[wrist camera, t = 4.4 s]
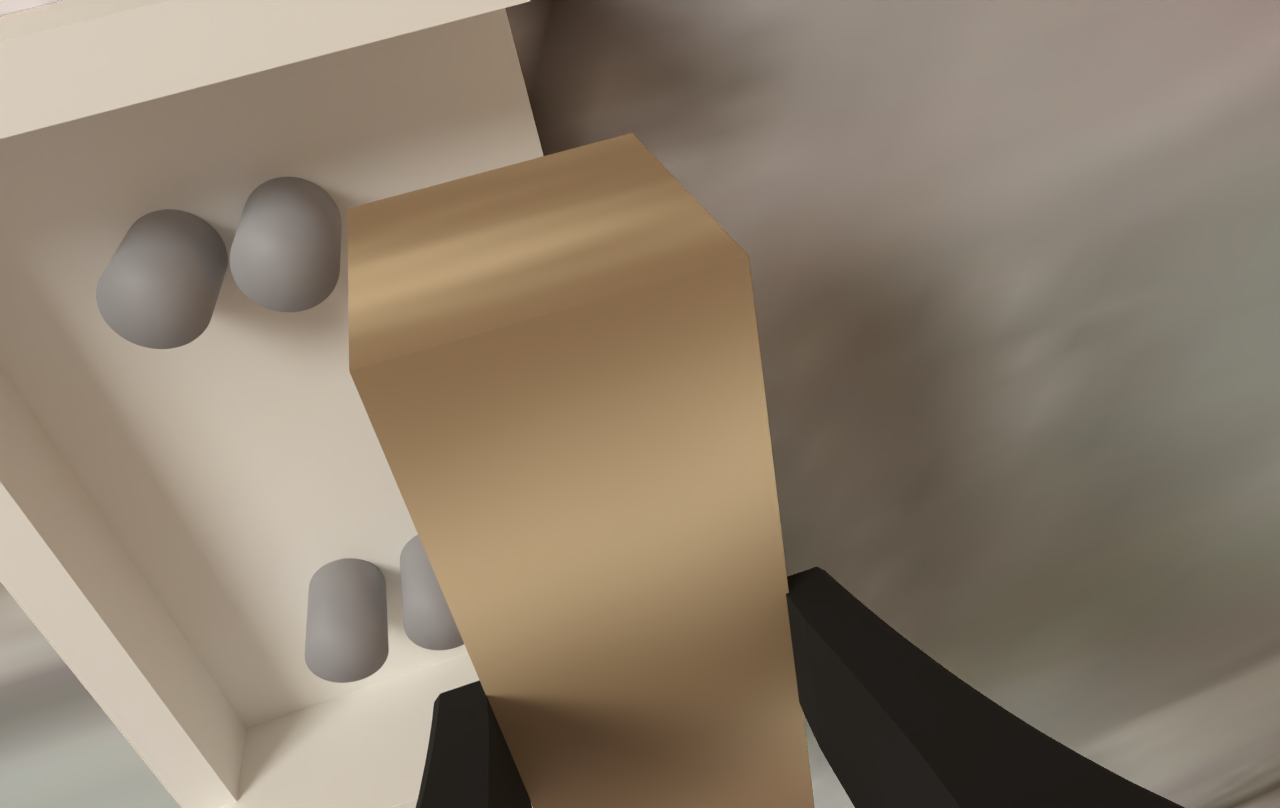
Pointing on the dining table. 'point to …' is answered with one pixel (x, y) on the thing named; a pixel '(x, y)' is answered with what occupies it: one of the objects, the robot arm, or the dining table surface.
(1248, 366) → the dining table surface
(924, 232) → the dining table surface
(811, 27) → the dining table surface
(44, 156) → the peg frame
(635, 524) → the wooden block
